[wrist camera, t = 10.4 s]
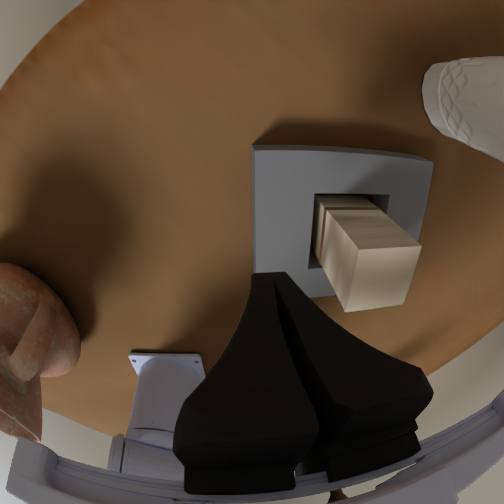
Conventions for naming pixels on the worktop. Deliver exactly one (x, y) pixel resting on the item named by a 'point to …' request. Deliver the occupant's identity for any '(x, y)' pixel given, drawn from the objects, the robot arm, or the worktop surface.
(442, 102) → the white cup
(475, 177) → the worktop surface
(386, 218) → the peg
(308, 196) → the socket board
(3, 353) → the ceramic jug
